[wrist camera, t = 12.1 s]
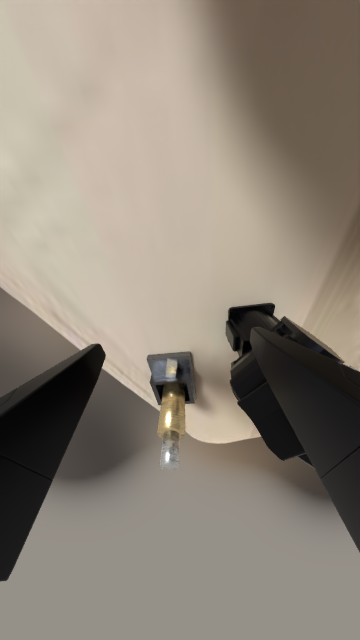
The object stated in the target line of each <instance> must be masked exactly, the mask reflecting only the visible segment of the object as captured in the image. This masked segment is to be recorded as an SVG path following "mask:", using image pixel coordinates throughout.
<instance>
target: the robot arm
mask: <svg viewBox="0 0 360 640" xmlns="http://www.w3.org/2000/svg"><path fill="white" fill-rule="evenodd" d="M270 306H271V307H270ZM269 307H270V308H269ZM274 309H275V305H274V304H273V303H265V304H257V305H248V306H239V307H231V308H229V310H228V321H227V322H226V336H227V339H228V342H229V343H230V345H231V348H232V350H233V351H237V352H238V354H239V358H238V359H237V360H236V361H234V362H232V363H231V371H230V372H231V380H230V384H231V387H232V390H233V393H234V395H235V397H236V398H237V400H238V402H237V403H238V405H239V406H240V407H241V408H242V409H243V410H244V411H245V413H246V414H247V415H248V416H249V418H250V419H251V420H252V422H253V423H254V425H255V426H256V428H257V429H258V431H259V433H260V435H261V436H262V438H263V440H264V441H265V443H266V445H267V446H268V448H269V449H270V450H271V451H272V452H273V453H274V454H276V455H277V457H278V458H280V459H281V460H283V461H286V460H289V459H291V458H294V457H298V458H299V459H300V460H302V461H303V462H305V463H307V464H308V465H309V466H311V467H312V468H314V469H315V470H316V472H317V474H318V476H319V477H320V478H321V482H322V483H323V485H324V487H325V489H326V491H327V493H328V495H329V496H330V498H331V500H332V502H333V504H334V506H335V507H336V509H337V511H338V513H339V515H340V517H341V519H342V520H343V522H344V524H345V526H346V528H347V530H348V532H349V533H350V535H351V537H352V539H353V541H354V543H355V544H356V546H357V548H358V550H359V552H360V372H359V371H357V370H354V369H352V368H350V367H348V366H346V365H343V363H345V362H344V361H343V360H342V359H341V358H340V357H339V356H338V355H337V354H336V353H335V352H334V351H333V350H332V349H331V348H329V347H328V346H327V345H325V344H324V343H323V342H321V341H320V340H319V339H317V338H316V337H315V336H313V335H312V334H310V333H309V332H307V331H306V330H304V329H303V328H301V327H300V326H298V325H297V324H295V323H294V322H292V321H291V320H289V319H288V318H286V317H285V316H284V317H283V318H282V319H281V321H280V320H278V319H277V318H276V317H275V316H274V315H273V313H274ZM232 310H233V312H231V311H232ZM105 356H106V354H105V352H104V350H103V348H102V346H101V345H100V344H91V345H90V346H88V347H86V348H85V349H83V350H81V351H79V352H78V353H76V354H74V355H73V356H71V357H69V358H67V359H66V360H64V361H62V362H60V363H59V364H58V365H55V366H54V367H52V368H50V369H49V370H47V371H45V372H43V373H42V374H40V375H38V376H36V377H35V378H33V379H31V380H30V381H28V382H26V383H25V384H23V385H21V386H19V387H18V388H16V389H14V390H12V391H11V392H9V393H7V394H6V395H4V396H2V397H0V581H6V580H8V578H9V576H10V574H11V572H12V570H13V568H14V566H15V564H16V561H17V559H18V557H19V555H20V552H21V550H22V548H23V546H24V544H25V541H26V539H27V537H28V535H29V532H30V530H31V528H32V526H33V524H34V521H35V519H36V517H37V515H38V512H39V510H40V508H41V506H42V503H43V501H44V499H45V497H46V495H47V492H48V490H49V488H50V486H51V483H52V481H53V479H54V476H55V474H56V472H57V469H58V467H59V465H60V463H61V461H62V458H63V456H64V454H65V452H66V450H67V447H68V445H69V443H70V441H71V438H72V436H73V434H74V432H75V430H76V427H77V425H78V423H79V420H80V418H81V416H82V414H83V412H84V409H85V407H86V405H87V403H88V401H89V398H90V396H91V394H92V392H93V389H94V387H95V385H96V383H97V380H98V377H99V375H100V372H101V369H102V366H103V363H104V360H105Z"/></svg>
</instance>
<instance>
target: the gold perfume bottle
mask: <svg viewBox="0 0 360 640" xmlns="http://www.w3.org/2000/svg"><path fill="white" fill-rule="evenodd" d="M157 434H158V436H159V437H160V438H162V439H163V442H162V453H161V462H160V468H162V469H164V470H176V469H178V468H179V440H180V439H182V438H184V437H185V383H177V384H164V388H163V395H162V403H161V410H160V417H159V425H158V432H157Z"/></svg>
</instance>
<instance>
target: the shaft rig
mask: <svg viewBox="0 0 360 640" xmlns="http://www.w3.org/2000/svg"><path fill="white" fill-rule="evenodd" d="M147 362H148V364H149V367H150V370H151V373H152V375H151V380H150V384H151V387H152V389H153V392H154V394H155V397H156V400H157V402H158V405H161V403H162V395H163V388H164V384H177V383H185V404H190V403H194V399H196V392H195V385H194V378H193V371H192V364H191V357H190V352H179V353H168V354H157V355H148V357H147Z"/></svg>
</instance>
